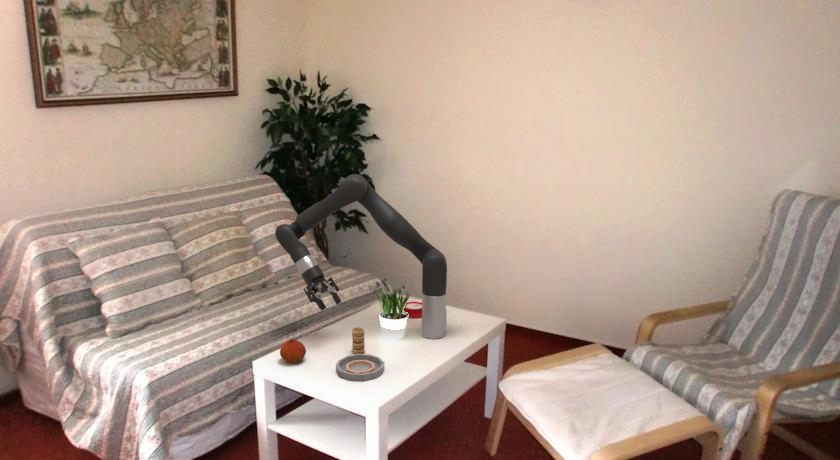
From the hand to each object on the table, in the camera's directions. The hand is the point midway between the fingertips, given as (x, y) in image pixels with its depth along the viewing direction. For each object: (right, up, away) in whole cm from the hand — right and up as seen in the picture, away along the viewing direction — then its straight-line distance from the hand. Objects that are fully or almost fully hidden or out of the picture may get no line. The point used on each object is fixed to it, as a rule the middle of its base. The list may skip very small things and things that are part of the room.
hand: (331, 306), depth 242 cm
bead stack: (+10, -17, -2) cm, 20 cm away
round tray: (+12, -20, -17) cm, 29 cm away
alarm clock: (+32, -8, +37) cm, 49 cm away
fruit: (-12, -19, -10) cm, 24 cm away
